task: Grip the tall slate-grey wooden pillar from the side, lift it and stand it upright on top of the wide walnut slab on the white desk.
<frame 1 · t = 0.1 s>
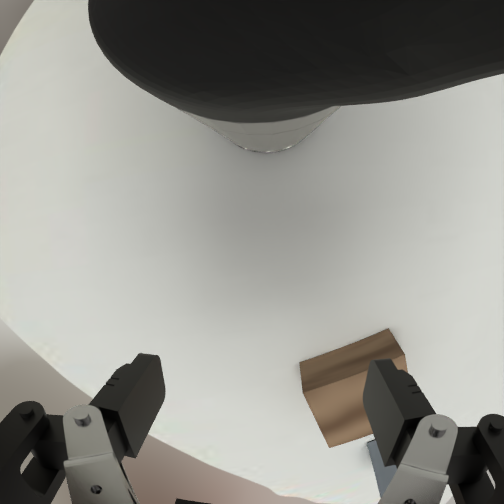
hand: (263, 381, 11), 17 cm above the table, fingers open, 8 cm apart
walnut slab: (354, 378, 31), on the table
slate pillar: (385, 445, 34), on the table
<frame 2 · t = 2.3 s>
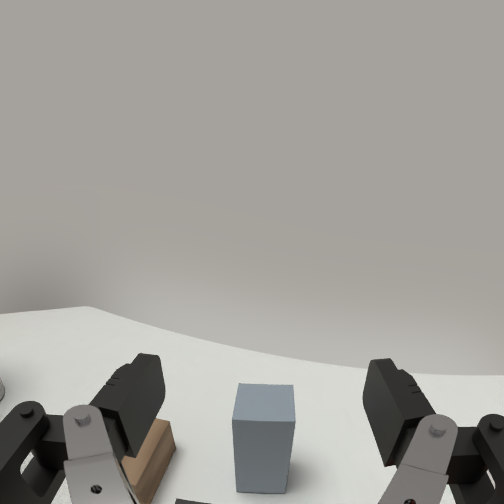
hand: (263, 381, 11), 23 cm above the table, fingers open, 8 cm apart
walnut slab: (124, 465, 26), on the table
slate pillar: (261, 475, 26), on the table
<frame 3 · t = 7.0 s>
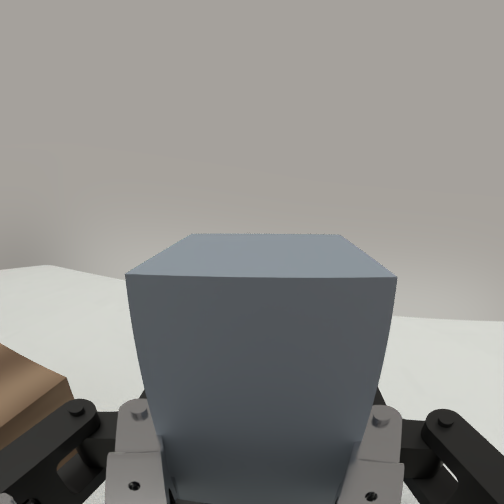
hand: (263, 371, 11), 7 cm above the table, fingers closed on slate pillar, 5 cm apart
when the fingers open (13 cm above the table, at t = 11.9 s): slate pillar drops 2 cm, resting on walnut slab.
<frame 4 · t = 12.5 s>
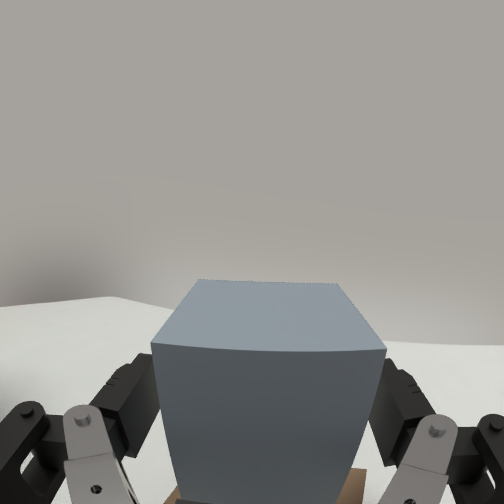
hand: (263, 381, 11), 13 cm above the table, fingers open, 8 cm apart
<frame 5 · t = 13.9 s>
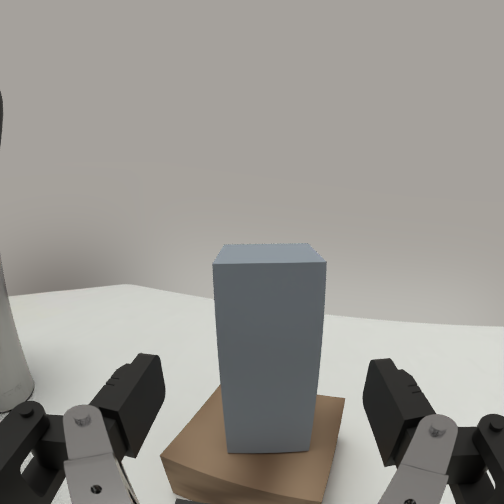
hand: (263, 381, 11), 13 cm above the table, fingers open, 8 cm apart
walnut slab: (261, 470, 19), on the table, touching slate pillar
slate pillar: (267, 427, 18), point 5 cm above the table, touching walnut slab
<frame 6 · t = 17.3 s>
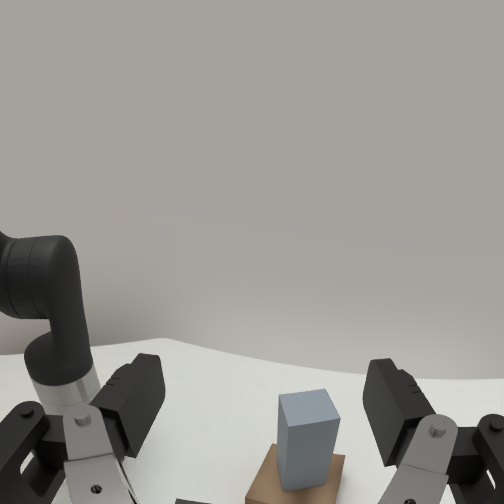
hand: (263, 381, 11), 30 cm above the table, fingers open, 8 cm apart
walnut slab: (295, 495, 29), on the table
slate pillar: (299, 473, 29), point 5 cm above the table
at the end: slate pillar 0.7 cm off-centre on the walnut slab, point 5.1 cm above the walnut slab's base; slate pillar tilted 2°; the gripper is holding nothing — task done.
